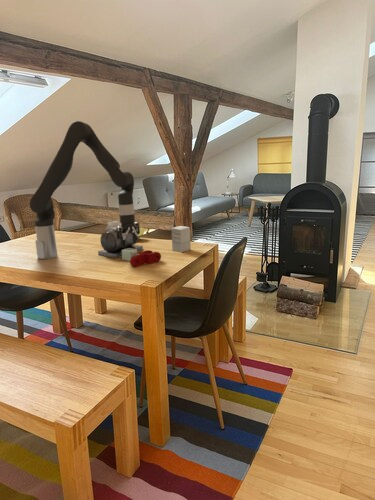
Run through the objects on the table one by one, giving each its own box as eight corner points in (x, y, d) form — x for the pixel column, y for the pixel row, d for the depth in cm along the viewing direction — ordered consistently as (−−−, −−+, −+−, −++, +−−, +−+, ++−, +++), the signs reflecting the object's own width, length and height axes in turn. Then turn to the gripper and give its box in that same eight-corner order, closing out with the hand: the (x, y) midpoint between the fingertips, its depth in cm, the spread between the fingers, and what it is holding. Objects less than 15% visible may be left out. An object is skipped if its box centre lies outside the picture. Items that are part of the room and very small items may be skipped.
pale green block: (132, 261, 193) (131, 251, 191) (121, 259, 197) (120, 250, 196) (138, 259, 197) (138, 249, 195) (127, 257, 201) (127, 247, 200)
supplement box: (181, 247, 216) (180, 225, 213) (191, 249, 211) (190, 227, 208) (171, 250, 211) (170, 227, 208) (181, 252, 206) (180, 229, 203)
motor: (117, 258, 199) (114, 226, 195) (98, 254, 207) (95, 224, 203) (142, 249, 215) (141, 220, 211) (124, 246, 223) (122, 218, 219)
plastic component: (112, 240, 229) (110, 230, 236) (113, 249, 234) (111, 239, 241) (145, 235, 233) (142, 225, 240) (146, 244, 238) (142, 234, 245)
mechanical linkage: (151, 258, 197) (150, 249, 196) (161, 260, 192) (160, 251, 191) (127, 266, 185) (126, 256, 184) (137, 268, 181) (136, 258, 179)
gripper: (131, 210, 199) (133, 241, 203) (111, 215, 187) (114, 247, 191) (142, 211, 194) (144, 242, 199) (122, 216, 183) (125, 249, 187)
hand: (129, 245), depth 195 cm, fingers open, 8 cm apart
